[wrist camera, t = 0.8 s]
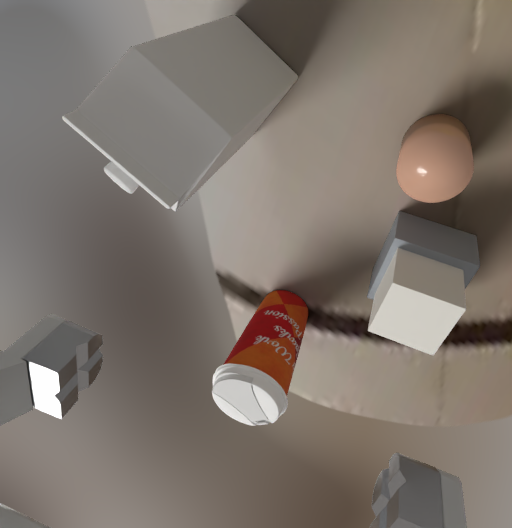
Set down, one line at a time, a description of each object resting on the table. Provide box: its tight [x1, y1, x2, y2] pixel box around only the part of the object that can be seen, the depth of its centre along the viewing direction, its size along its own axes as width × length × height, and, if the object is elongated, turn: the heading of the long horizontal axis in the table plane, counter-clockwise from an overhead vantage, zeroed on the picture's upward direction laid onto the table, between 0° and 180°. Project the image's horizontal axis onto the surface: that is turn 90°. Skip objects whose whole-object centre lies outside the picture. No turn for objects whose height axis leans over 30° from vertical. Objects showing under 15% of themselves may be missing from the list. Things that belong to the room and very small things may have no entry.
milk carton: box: [62, 15, 298, 212], centre depth 30 cm, size 7×7×19 cm
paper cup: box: [212, 290, 308, 426], centre depth 45 cm, size 8×8×14 cm
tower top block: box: [368, 248, 466, 355], centre depth 35 cm, size 6×6×5 cm
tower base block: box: [367, 211, 480, 300], centre depth 39 cm, size 7×7×5 cm
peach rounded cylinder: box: [396, 114, 474, 203], centre depth 33 cm, size 5×5×5 cm
